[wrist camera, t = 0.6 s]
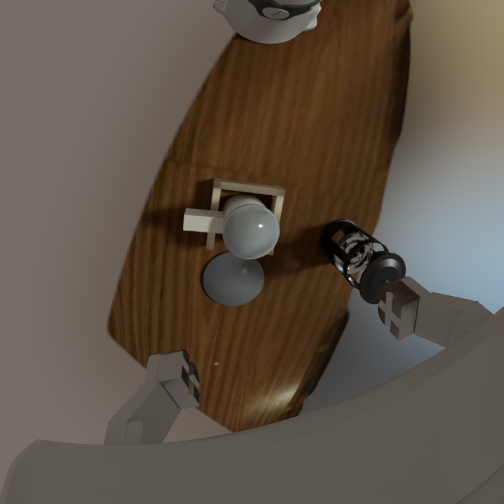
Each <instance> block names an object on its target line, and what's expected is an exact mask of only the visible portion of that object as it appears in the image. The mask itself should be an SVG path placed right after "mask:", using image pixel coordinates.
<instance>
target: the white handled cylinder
mask: <svg viewBox="0 0 504 504" xmlns="http://www.w3.org/2000/svg"><path fill="white" fill-rule="evenodd" d="M183 230H187V231H199V232H210V233H221V234H223V240H224V243H225V245H226V247H227V248H228V250H229V251H230V252H231V253H232V254H234V255H235V256H237V257H240V258H243V259H256V258H260V257H262V256H264V255H266V254H267V253H269V252H270V251H271V250H272V249H273V248H274V246H275V245H276V243H277V241H278V238H279V224H278V221H277V219H276V217H275V216H274V214H273V213H272V212H271V211H270V210H269V209H267V208H266V207H265V206H264V204H263V203H262V202H261V201H260V200H259V199H258V198H257V197H256V196H254V195H252V194H248V193H239V194H236V195H233V196H232V197H230V198H229V199H228V200H227V201H226V202H225V203H224V205H223V207H222V210H221V211H211V210H200V209H189V208H186V211H185V215H184V226H183Z"/></svg>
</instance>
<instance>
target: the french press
mask: <svg viewBox="0 0 504 504" xmlns="http://www.w3.org/2000/svg"><path fill="white" fill-rule="evenodd" d="M343 227H350V228H351V229H352V230H353V232H352V233H349V234H347V235H346V236H344V237H343V238H342V239H341V240H340V241H339V242H338V244H336V243H335V242H334V241H333V240H332V239H331V238H332V236H333V235H334V234H335V233H336V232H337V231H338V230H340V229H341V228H343ZM373 243H379V244H381V245H382V246H383V248H384V250H385V251H378V252H375V251H374V250H373ZM319 246H320V251H321V253H322V255H323V256H324V257H325V259H327V260H328V261H330V262H331V263H332V264H333V265H334V266H336V267H337V269H338V270H339V271H340V272H341V273H342V274H343V275H344V277H345V278H346V280H347V281H348V282H349V283H350V285H351V286H353V287H354V288H357V289H359V291H360V295H361V297H362V298H363V299H364V300H365V301H366V302H367V303H370V304H379V302H380V301H381V299H380V298H379V297H378V291H379V288H382V287H384V286H387V285H389V284H391V283H394V282H396V281H398V280H400V279H402V278H405V273H406V267H405V263H404V261H403V259H402V258H401V257H400V256H399V255H397V254H395V253H390V252H389V251H388V249H387V248H386V246H384V245H383V244H382V243H381V242H379V241H378V240H376V239H375V238H374V237H372V236H371V235H369V234H368V233H366V232H365V231H363V230H362V229H360V228H359V227H357V226H356V224H355V223H353V222H352V221H350V220H346V219H340V220H336V221H334V222H332V223H331V224H329V225H328V226H327V227H326V228H325V229H324V231H323V233H322V235H321V237H320V243H319ZM328 248H329V249H330V250H331V251H332V252H333V253H334V256H332V255H330V254H329V253H328V251H327V250H328ZM368 262H369V263H368ZM366 265H367V267H366V268H365V270H364V272H363V274H362V276H361V279H360V283H359V284H358V283H357V281H356V280H355V279H354V278H353V277H352V276H351V275H350V274H351V273H356V272H358V271H360V270H362V269H363V268H364V267H365V266H366Z"/></svg>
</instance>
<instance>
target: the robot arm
mask: <svg viewBox="0 0 504 504" xmlns="http://www.w3.org/2000/svg"><path fill="white" fill-rule="evenodd" d="M320 1H321V0H225V1H221V0H215V2H214V5H213V7H214V8H215V10H216V11H218V12H219V13H221V14H222V15H224V16H225V18H226V19H227V21H228V22H229V24H230V26H231V27H232V28H233V29H234V30H235V31H236V32H237V33H238V34H240V35H241V36H243V37H245V38H247V39H249V40H252V41H255V42H258V43H264V44H277V43H282V42H286V41H288V40H290V39H292V38H294V37H295V36H297V35H298V34H299V33H300V32H302V31H306V30H310V29H313V28H315V26H316V25H317V18H316V15H317V14H318V13H319V12H320V10H321V7H320V5H319V3H320ZM378 297H379V298H380V299H381V301H380V302H379V304H378V313H379V317H380V319H381V321H382V322H383V323H384V325H387V326H389V327H390V332H391V333H392V334H393V335H394V336H395V338H396V339H397V340H401V339H402V338H405V337H407V336H409V335H411V334H413V333H414V334H415V335H417V336H420V337H422V338H425V339H427V340H429V341H432V342H434V343H436V344H439V345H441V346H444V347H446V348H445V349H444V350H442V351H441V352H439V353H438V354H436V355H434V356H433V357H431V358H429V359H427V360H426V361H424V362H422V363H420V364H419V365H417V366H415V367H413V368H411V369H409V370H407V371H406V372H404V373H402V374H400V375H398V376H396V377H394V378H392V379H390V380H388V381H386V382H384V383H382V384H379V385H377V386H375V387H373V388H371V389H368V390H367V391H364V392H362V393H359V394H357V395H355V396H352V397H350V398H347V399H345V400H342V401H340V402H337V403H334V404H332V405H329V406H326V407H324V408H321V409H318V410H315V411H312V412H309V413H306V414H303V415H300V416H297V417H293V418H290V419H287V420H283V421H280V422H276V423H273V424H269V425H265V426H261V427H257V428H253V429H248V430H244V431H239V432H235V433H230V434H225V435H219V436H213V437H208V438H202V439H194V440H186V441H177V442H169V443H163V440H164V439H165V437H166V435H167V434H168V432H169V430H170V428H171V427H172V425H173V423H174V421H175V420H176V418H177V416H178V414H179V413H180V411H181V410H180V409H185V408H190V407H196V406H200V393H199V391H198V389H197V387H198V386H199V376H198V372H197V369H196V367H195V365H194V363H192V362H190V361H189V354H188V353H187V351H186V350H185V349H182V350H177V351H172V352H167V353H162V354H157V355H152V356H150V357H149V360H148V365H147V371H146V377H145V383H144V385H141V386H140V387H139V388H138V389H137V390H136V391H135V393H134V394H133V395H132V396H131V397H130V398H129V399H128V400H127V401H126V403H125V404H124V405H123V406H122V407H121V409H119V411H118V412H117V413H116V414H115V415H114V416H113V417H112V418H111V420H110V421H109V422H108V426H107V431H106V436H105V442H104V445H92V444H75V443H63V442H54V441H47V440H35V441H34V442H32V443H31V444H30V445H28V446H27V447H26V448H25V449H24V450H23V451H22V452H21V453H20V454H19V455H18V456H17V457H16V458H15V459H14V460H13V462H12V464H11V465H10V468H9V470H8V473H7V476H6V479H5V482H4V485H3V489H2V492H1V496H0V504H504V307H502V308H501V309H500V310H499V311H498V312H496V313H495V314H494V315H493V314H492V313H491V312H490V311H489V310H487V309H486V308H485V307H484V306H482V305H481V304H480V303H479V302H477V301H472V300H468V299H463V298H459V297H454V296H449V295H444V294H440V293H435V292H432V293H430V292H429V291H427V290H426V289H425V288H424V287H422V286H421V285H420V284H419V283H417V282H416V281H415V280H413V279H412V278H411V277H409V276H407V277H405V278H402V279H400V280H398V281H396V282H394V283H391V284H389V285H387V286H384V287H382V288H379V291H378Z"/></svg>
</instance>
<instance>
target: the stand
mask: <svg viewBox="0 0 504 504" xmlns="http://www.w3.org/2000/svg"><path fill="white" fill-rule="evenodd" d="M221 189H226V190H235V191H243V192H251V193H259V194H267V195H273V197H272V202H271V208H270V211H271V212H272V213H273V214H274V216H275V217H276V219H277V221H278V224H279V221H280V215H281V210H282V205H283V199H284V194H285V190H284V189H283V188H282V187H277V186H271V185H264V184H256V183H249V182H241V181H232V180H224V179H215V178H214V184H213V191H212V200H211V208H210V210H211V211H218V208H219V200H220V192H221ZM214 241H215V233H210V232H208V235H207V250H214ZM273 251H274V248H273V249H272V250H271V251H270V252H269V253H267V254H266V255H273Z"/></svg>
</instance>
